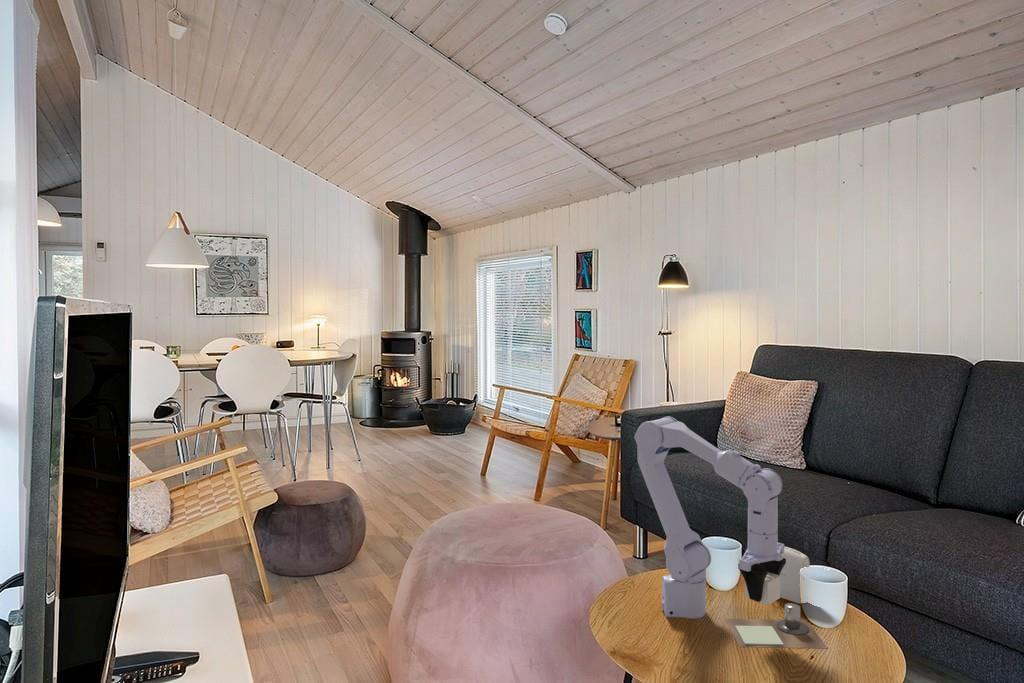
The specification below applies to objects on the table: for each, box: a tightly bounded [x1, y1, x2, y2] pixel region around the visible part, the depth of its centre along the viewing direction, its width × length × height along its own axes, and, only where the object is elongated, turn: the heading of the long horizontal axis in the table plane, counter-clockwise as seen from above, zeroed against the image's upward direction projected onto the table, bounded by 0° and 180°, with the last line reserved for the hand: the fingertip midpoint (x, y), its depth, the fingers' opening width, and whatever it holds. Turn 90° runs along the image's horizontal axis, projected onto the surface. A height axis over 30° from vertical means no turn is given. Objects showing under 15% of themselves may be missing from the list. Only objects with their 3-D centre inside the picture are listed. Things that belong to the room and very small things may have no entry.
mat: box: [735, 626, 784, 646], centre depth 137 cm, size 8×8×1 cm
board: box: [724, 618, 829, 650], centre depth 139 cm, size 17×12×1 cm
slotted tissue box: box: [744, 572, 781, 606], centre depth 137 cm, size 5×5×5 cm
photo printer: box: [779, 546, 811, 605], centre depth 156 cm, size 10×4×12 cm, turn 39°
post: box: [776, 602, 809, 635], centre depth 141 cm, size 6×6×4 cm
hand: (762, 595), depth 137 cm, fingers closed on slotted tissue box, 5 cm apart
